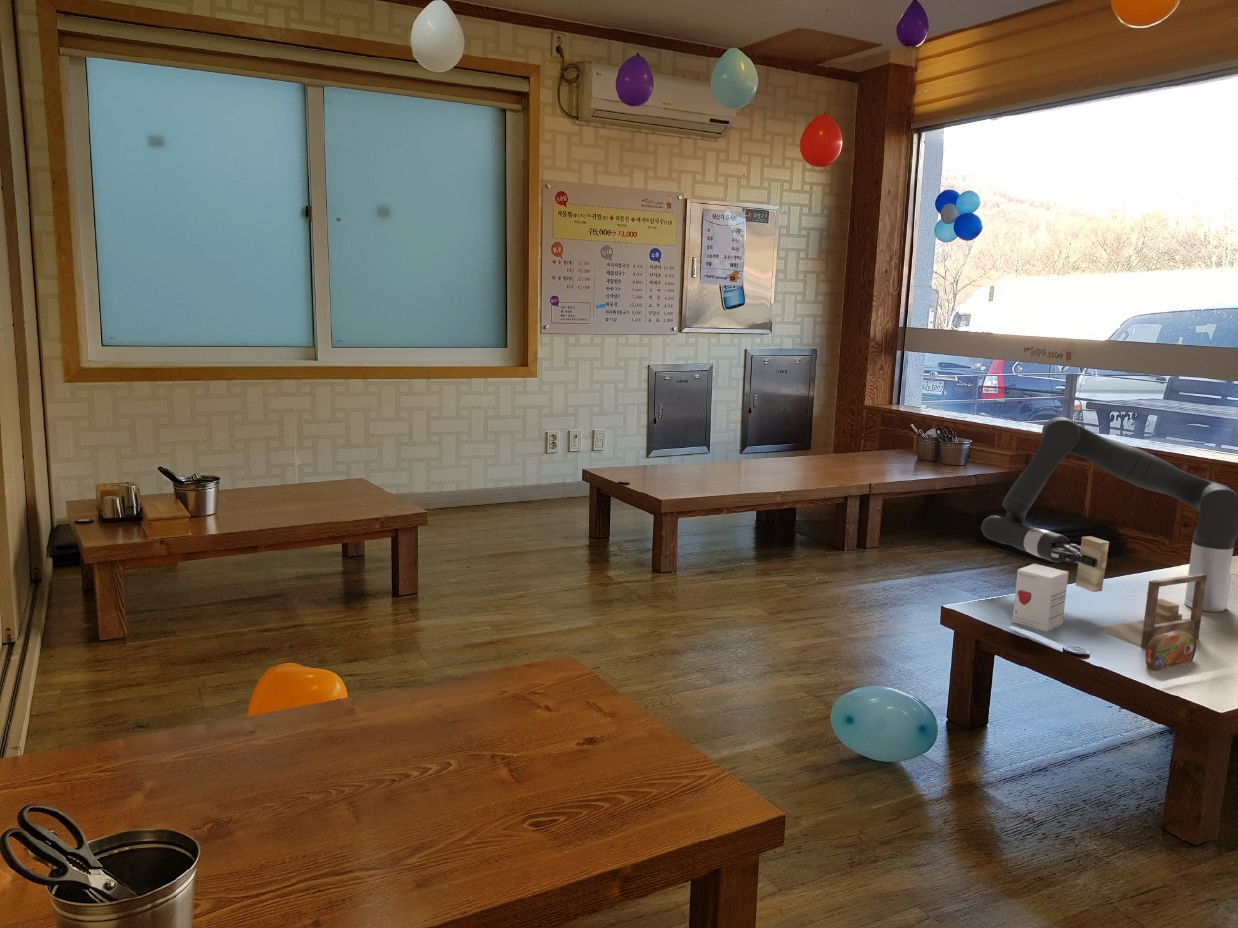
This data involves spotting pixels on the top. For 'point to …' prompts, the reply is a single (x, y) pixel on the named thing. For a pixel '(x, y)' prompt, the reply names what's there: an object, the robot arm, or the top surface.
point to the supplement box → (1040, 597)
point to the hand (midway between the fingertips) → (1101, 562)
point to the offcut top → (1167, 607)
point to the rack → (1146, 628)
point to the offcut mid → (1167, 618)
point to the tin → (1170, 649)
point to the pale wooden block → (1087, 574)
